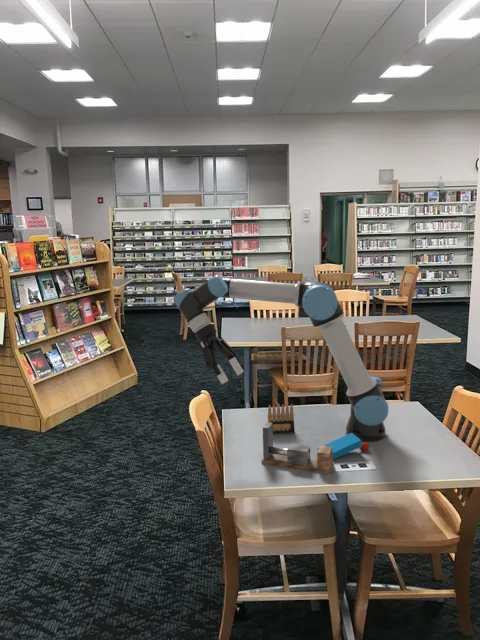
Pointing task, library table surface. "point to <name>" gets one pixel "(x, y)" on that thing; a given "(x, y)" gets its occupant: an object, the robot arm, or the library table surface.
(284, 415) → the ammunition clip
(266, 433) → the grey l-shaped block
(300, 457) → the wooden bar with block
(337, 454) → the blue block
